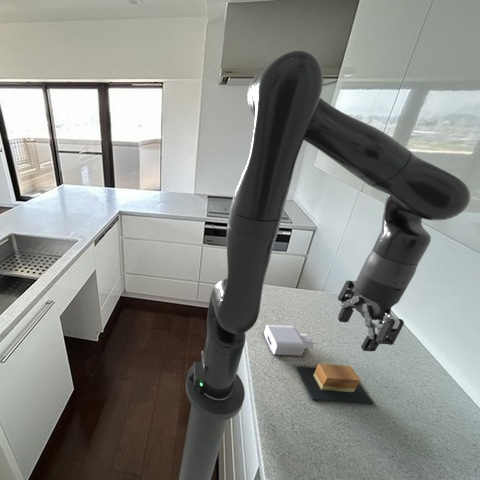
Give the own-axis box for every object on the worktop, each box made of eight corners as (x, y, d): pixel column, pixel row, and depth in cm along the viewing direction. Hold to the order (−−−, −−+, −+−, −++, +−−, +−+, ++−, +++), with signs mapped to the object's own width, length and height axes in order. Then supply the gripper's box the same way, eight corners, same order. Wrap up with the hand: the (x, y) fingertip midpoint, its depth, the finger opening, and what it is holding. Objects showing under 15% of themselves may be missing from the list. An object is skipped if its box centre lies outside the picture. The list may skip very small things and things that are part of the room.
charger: (320, 358, 81) (273, 355, 81) (305, 335, 90) (263, 333, 89) (325, 347, 79) (277, 345, 79) (309, 325, 87) (266, 323, 87)
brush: (321, 389, 71) (327, 377, 69) (313, 375, 75) (318, 363, 73) (353, 392, 71) (360, 380, 69) (344, 377, 75) (350, 365, 73)
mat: (312, 400, 69) (313, 398, 68) (296, 367, 78) (296, 366, 77) (372, 404, 68) (373, 403, 68) (349, 371, 77) (349, 370, 77)
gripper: (344, 256, 58) (320, 312, 65) (393, 296, 45) (357, 360, 52) (377, 258, 58) (350, 314, 65) (436, 299, 45) (394, 362, 52)
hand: (353, 334), depth 58 cm, fingers open, 8 cm apart
